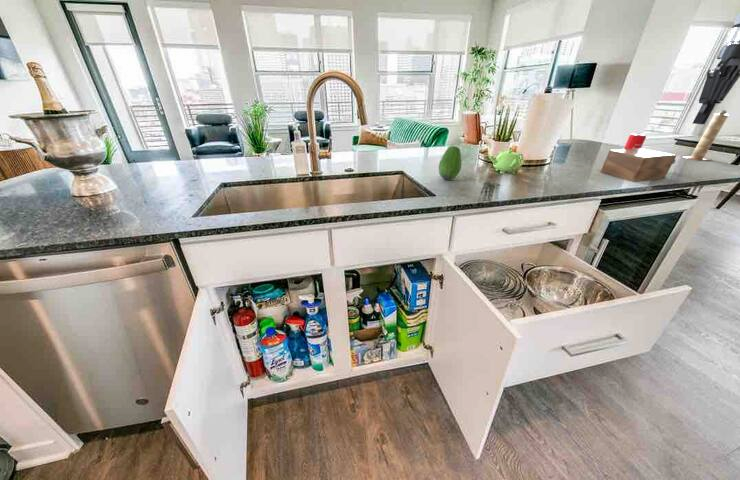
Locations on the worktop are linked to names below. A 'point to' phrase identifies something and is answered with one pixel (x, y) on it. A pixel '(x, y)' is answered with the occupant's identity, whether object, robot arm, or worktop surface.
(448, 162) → the avocado
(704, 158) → the tile
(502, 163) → the green bumpy rounded figure
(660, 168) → the wood grain box
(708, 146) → the pepper mill
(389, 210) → the worktop surface
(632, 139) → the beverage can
